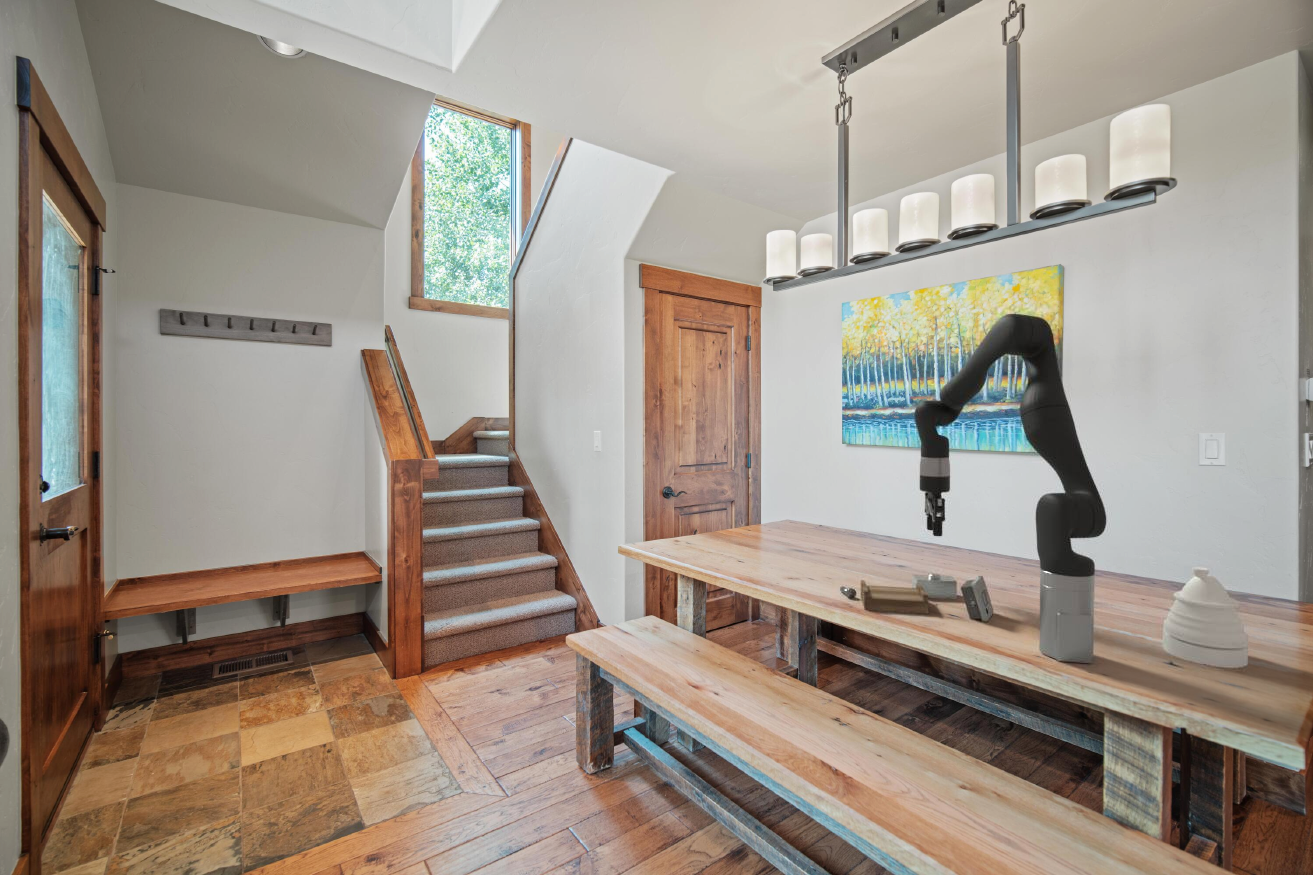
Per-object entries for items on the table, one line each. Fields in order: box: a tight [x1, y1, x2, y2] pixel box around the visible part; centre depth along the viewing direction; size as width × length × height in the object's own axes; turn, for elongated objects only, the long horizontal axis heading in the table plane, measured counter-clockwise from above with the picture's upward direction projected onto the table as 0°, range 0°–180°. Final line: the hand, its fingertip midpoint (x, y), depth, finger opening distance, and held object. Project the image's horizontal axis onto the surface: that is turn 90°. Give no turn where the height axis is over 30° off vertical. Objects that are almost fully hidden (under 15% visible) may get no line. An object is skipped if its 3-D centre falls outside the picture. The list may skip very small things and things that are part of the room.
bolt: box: [839, 585, 857, 599], centre depth 166 cm, size 6×3×3 cm, turn 6°
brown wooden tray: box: [860, 579, 929, 615], centre depth 157 cm, size 12×15×4 cm
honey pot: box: [1162, 566, 1249, 669], centre depth 123 cm, size 13×13×18 cm
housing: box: [911, 573, 958, 600], centre depth 165 cm, size 6×10×6 cm, turn 80°
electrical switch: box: [960, 575, 995, 623], centre depth 148 cm, size 9×5×9 cm, turn 141°
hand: (934, 532), depth 164 cm, fingers open, 8 cm apart
